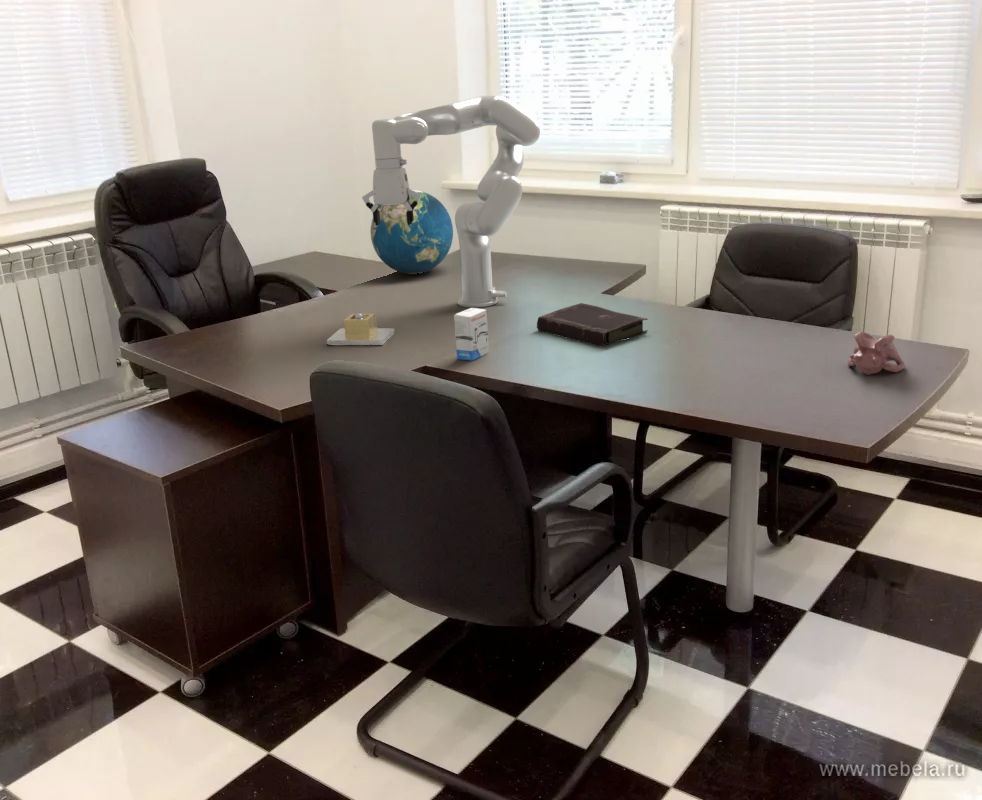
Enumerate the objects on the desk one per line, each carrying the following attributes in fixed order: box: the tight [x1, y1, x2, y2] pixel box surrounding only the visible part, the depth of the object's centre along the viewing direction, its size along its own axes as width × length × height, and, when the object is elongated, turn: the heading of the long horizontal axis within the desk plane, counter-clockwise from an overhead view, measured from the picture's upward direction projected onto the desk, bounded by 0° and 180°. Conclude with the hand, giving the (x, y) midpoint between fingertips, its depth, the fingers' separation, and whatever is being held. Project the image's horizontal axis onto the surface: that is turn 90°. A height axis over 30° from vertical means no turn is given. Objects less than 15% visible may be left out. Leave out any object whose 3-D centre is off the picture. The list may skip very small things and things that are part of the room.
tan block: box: [343, 313, 378, 338], centre depth 261 cm, size 7×7×5 cm
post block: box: [326, 313, 395, 346], centre depth 261 cm, size 16×12×8 cm
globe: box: [370, 189, 454, 275], centre depth 337 cm, size 30×30×30 cm
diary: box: [536, 302, 648, 348], centre depth 257 cm, size 19×25×5 cm
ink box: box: [453, 307, 490, 361], centre depth 240 cm, size 9×5×12 cm, turn 148°
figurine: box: [847, 330, 906, 376], centre depth 214 cm, size 12×10×15 cm
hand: (393, 224), depth 272 cm, fingers open, 9 cm apart
